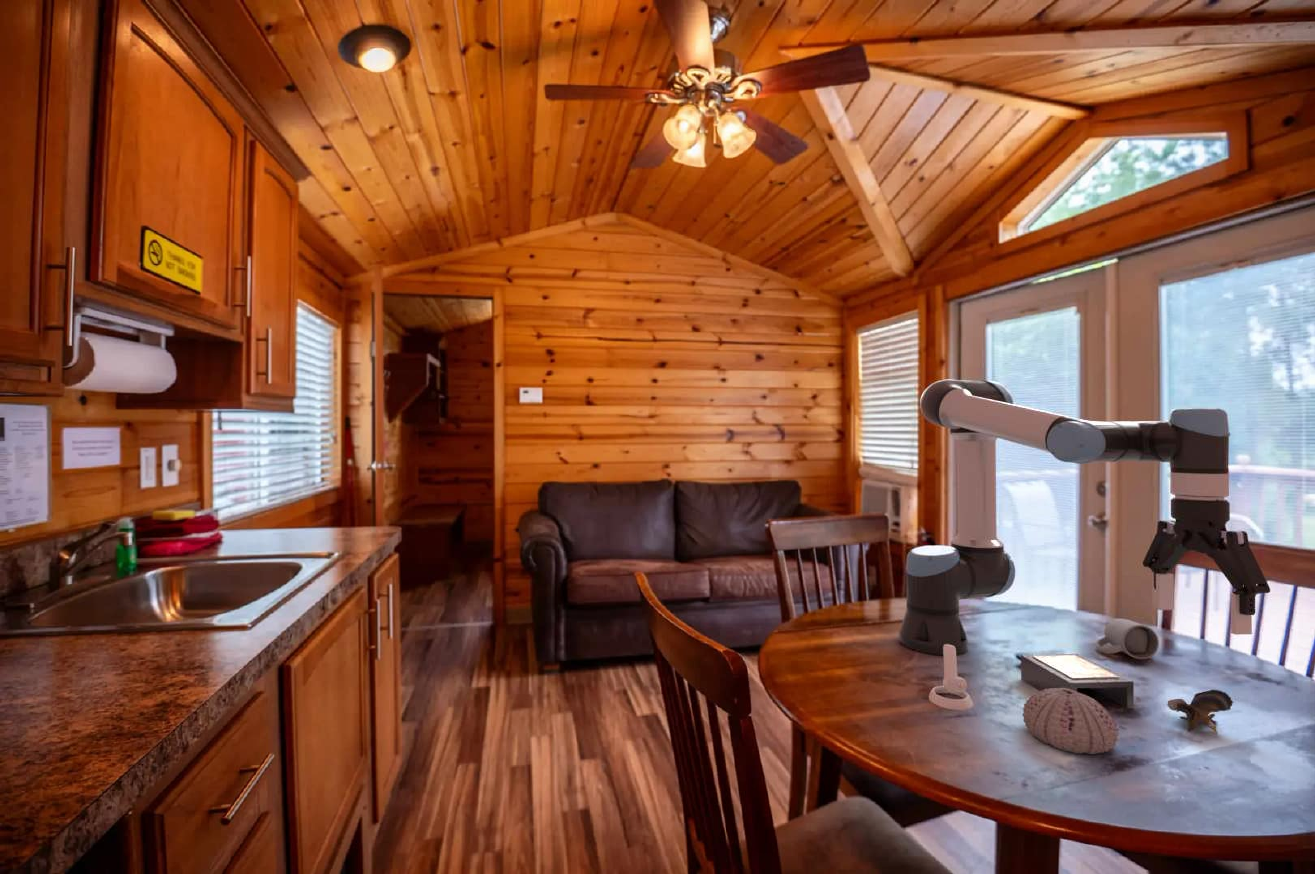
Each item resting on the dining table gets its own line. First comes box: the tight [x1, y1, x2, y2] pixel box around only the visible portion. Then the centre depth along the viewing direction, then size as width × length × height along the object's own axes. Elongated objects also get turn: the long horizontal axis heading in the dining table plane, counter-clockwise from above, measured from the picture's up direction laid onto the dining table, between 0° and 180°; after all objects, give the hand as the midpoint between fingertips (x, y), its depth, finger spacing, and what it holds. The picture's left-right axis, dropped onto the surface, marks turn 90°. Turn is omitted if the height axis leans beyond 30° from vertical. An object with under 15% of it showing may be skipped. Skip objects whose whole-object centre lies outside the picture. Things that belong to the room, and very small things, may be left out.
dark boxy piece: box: [1020, 653, 1135, 710], centre depth 116 cm, size 12×14×5 cm
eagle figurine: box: [1166, 689, 1234, 733], centre depth 103 cm, size 8×7×9 cm
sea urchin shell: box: [1022, 688, 1120, 755], centre depth 99 cm, size 13×14×8 cm
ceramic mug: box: [1095, 618, 1160, 660], centre depth 138 cm, size 11×8×8 cm
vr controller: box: [928, 644, 974, 711], centre depth 115 cm, size 8×12×7 cm
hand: (1200, 620), depth 102 cm, fingers open, 13 cm apart
